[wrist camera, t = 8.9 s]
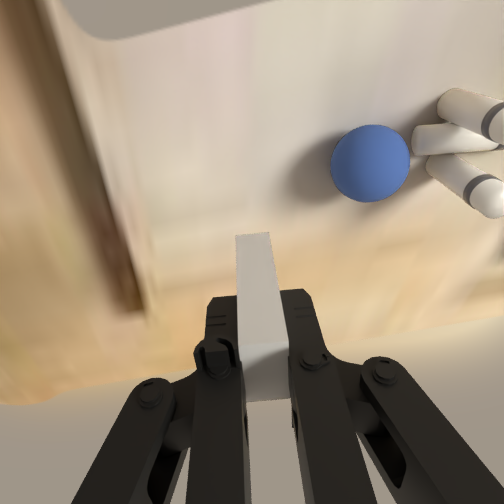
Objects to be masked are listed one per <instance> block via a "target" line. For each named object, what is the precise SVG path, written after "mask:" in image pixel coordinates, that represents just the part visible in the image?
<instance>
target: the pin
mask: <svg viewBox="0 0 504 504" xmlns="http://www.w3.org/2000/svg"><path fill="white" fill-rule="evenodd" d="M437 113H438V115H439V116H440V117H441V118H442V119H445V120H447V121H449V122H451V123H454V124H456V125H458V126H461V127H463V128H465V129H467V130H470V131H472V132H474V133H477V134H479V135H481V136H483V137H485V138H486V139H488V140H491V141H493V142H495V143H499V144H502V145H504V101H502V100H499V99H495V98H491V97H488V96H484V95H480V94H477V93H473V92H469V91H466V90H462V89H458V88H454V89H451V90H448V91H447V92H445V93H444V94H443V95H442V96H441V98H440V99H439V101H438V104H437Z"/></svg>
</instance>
